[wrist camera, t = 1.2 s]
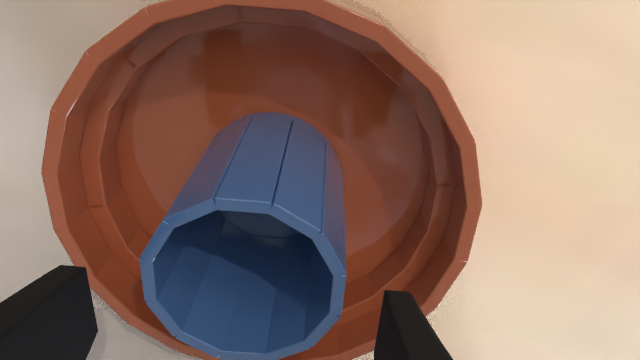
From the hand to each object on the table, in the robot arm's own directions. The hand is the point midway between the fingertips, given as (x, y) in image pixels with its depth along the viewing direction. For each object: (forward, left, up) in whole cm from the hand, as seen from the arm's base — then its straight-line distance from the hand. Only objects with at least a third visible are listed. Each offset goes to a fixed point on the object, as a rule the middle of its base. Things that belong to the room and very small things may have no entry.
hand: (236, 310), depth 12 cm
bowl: (0, 0, -8) cm, 8 cm away
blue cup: (0, 0, -7) cm, 7 cm away
